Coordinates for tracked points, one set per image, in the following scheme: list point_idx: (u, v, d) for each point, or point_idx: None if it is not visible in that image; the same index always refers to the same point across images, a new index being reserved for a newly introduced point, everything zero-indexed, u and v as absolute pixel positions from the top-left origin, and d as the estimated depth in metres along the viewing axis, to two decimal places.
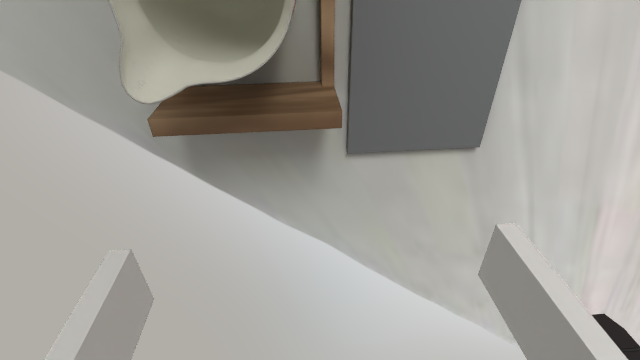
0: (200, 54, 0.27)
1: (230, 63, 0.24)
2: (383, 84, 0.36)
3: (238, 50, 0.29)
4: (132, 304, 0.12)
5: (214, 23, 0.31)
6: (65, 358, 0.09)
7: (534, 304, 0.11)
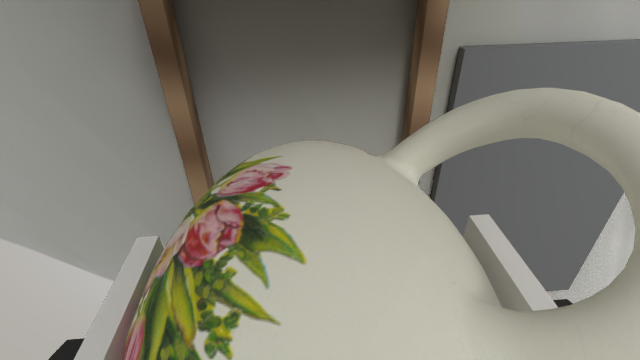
0: None
1: None
2: None
3: None
4: None
5: None
6: (106, 334, 0.09)
7: (501, 291, 0.11)
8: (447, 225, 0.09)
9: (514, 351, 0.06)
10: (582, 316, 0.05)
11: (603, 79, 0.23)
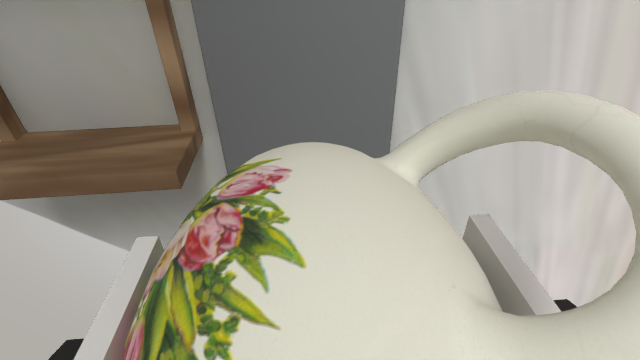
0: None
1: None
2: (256, 126, 0.31)
3: None
4: None
5: None
6: (105, 334, 0.09)
7: (501, 291, 0.11)
8: (447, 228, 0.09)
9: (514, 356, 0.06)
10: (583, 321, 0.05)
11: None
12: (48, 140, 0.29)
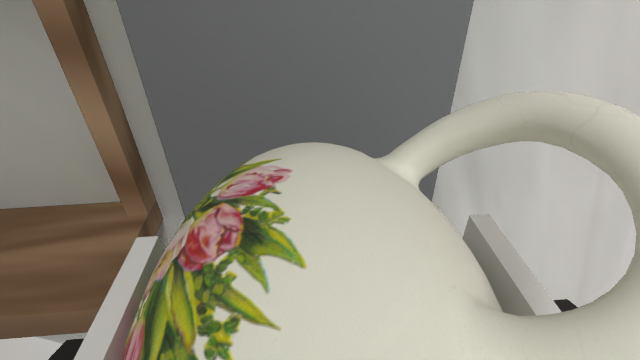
0: None
1: None
2: None
3: None
4: None
5: None
6: (105, 334, 0.09)
7: (501, 291, 0.11)
8: (447, 228, 0.09)
9: (515, 356, 0.06)
10: (583, 322, 0.05)
11: None
12: None
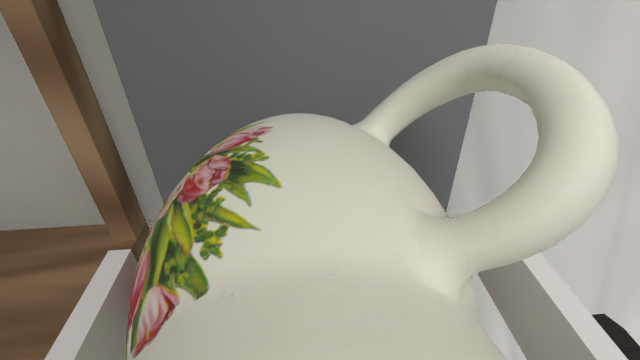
0: None
1: None
2: None
3: None
4: None
5: None
6: (65, 358, 0.09)
7: (533, 305, 0.11)
8: (408, 169, 0.11)
9: (449, 242, 0.07)
10: (496, 205, 0.07)
11: None
12: None
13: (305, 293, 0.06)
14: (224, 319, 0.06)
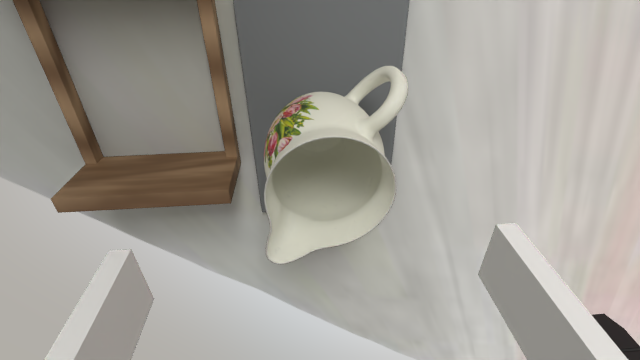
0: (304, 203, 0.34)
1: (337, 222, 0.31)
2: None
3: (327, 190, 0.36)
4: (132, 304, 0.12)
5: (302, 162, 0.38)
6: (65, 358, 0.09)
7: (533, 304, 0.11)
8: (361, 109, 0.30)
9: (366, 122, 0.27)
10: (377, 110, 0.26)
11: (342, 24, 0.32)
12: (122, 163, 0.37)
13: (327, 130, 0.26)
14: (308, 134, 0.25)
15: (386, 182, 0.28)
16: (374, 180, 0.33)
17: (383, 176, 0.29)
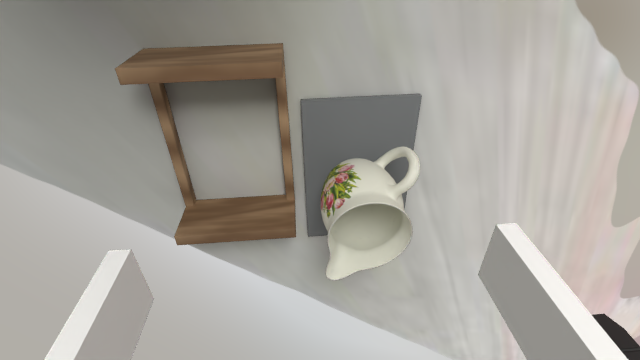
0: (346, 236, 0.49)
1: (371, 251, 0.46)
2: None
3: (361, 225, 0.51)
4: (132, 304, 0.12)
5: None
6: (65, 358, 0.09)
7: (533, 304, 0.11)
8: (388, 175, 0.44)
9: (393, 189, 0.41)
10: (400, 182, 0.41)
11: (374, 114, 0.47)
12: (213, 206, 0.52)
13: (368, 196, 0.40)
14: (356, 199, 0.40)
15: (405, 226, 0.43)
16: (396, 221, 0.47)
17: (403, 222, 0.43)
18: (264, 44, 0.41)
